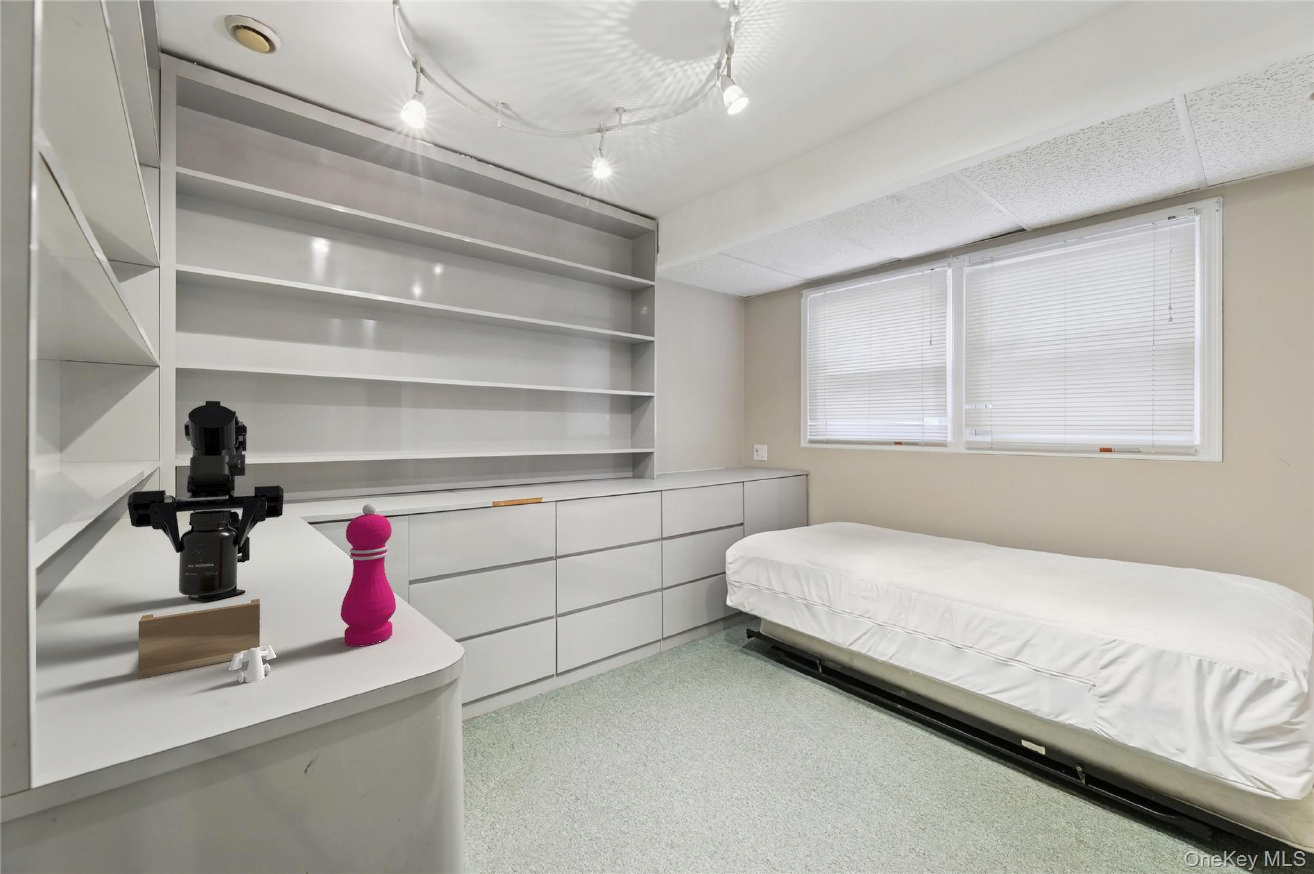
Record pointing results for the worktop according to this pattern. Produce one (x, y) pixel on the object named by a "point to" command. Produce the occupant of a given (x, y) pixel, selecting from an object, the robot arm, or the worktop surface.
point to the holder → (196, 638)
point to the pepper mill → (368, 581)
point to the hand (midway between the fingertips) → (209, 548)
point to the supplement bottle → (208, 554)
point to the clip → (253, 663)
